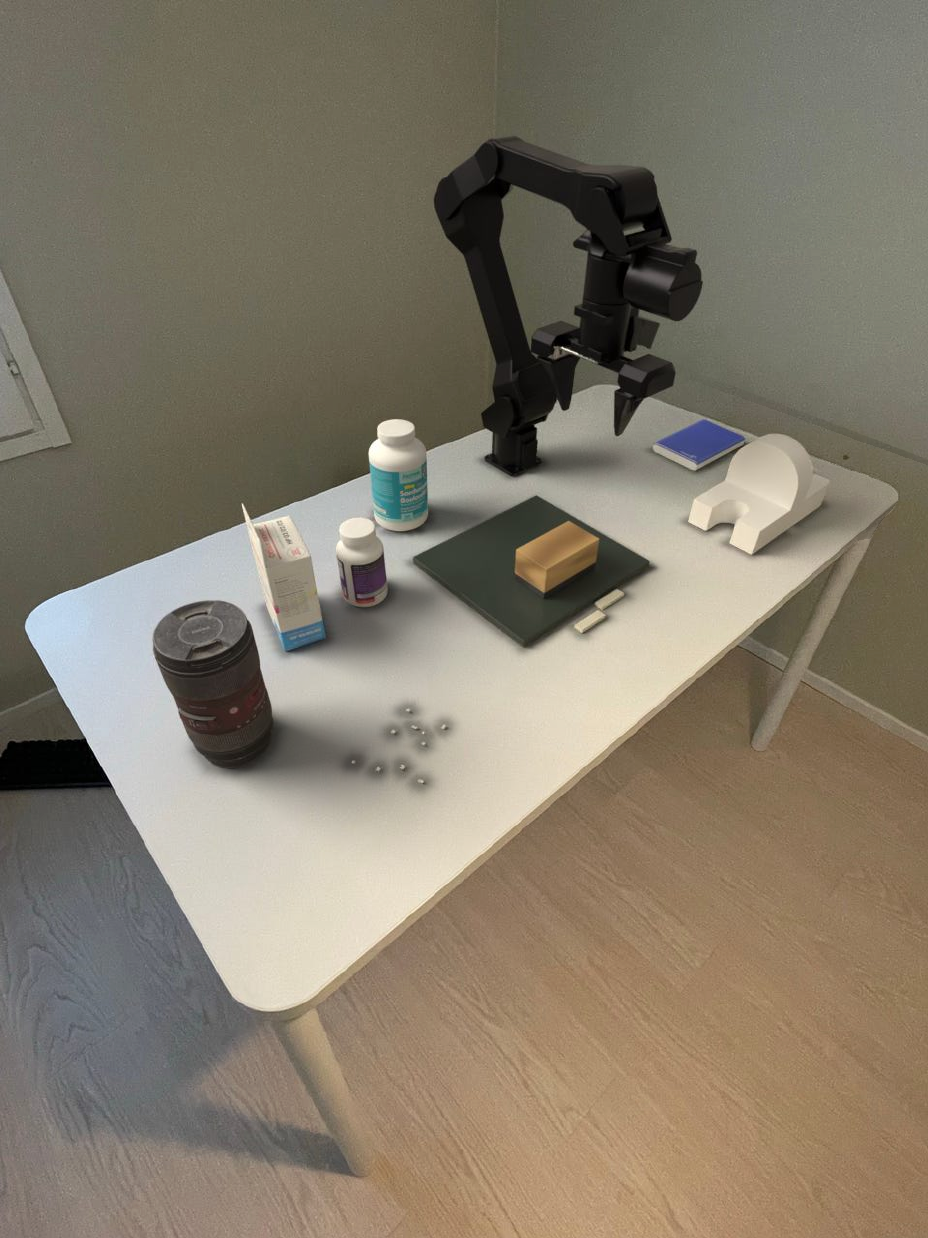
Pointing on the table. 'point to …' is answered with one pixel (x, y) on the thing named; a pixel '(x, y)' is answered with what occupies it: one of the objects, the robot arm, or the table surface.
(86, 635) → the table surface
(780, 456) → the block with arch cutout
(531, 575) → the eraser
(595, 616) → the chalk stroke
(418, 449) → the pill bottle
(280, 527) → the ink box
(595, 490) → the table surface
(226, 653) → the camera lens
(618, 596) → the chalk stroke
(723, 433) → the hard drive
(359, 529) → the pill bottle
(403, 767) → the crumbs
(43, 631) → the table surface
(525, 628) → the chalkboard
